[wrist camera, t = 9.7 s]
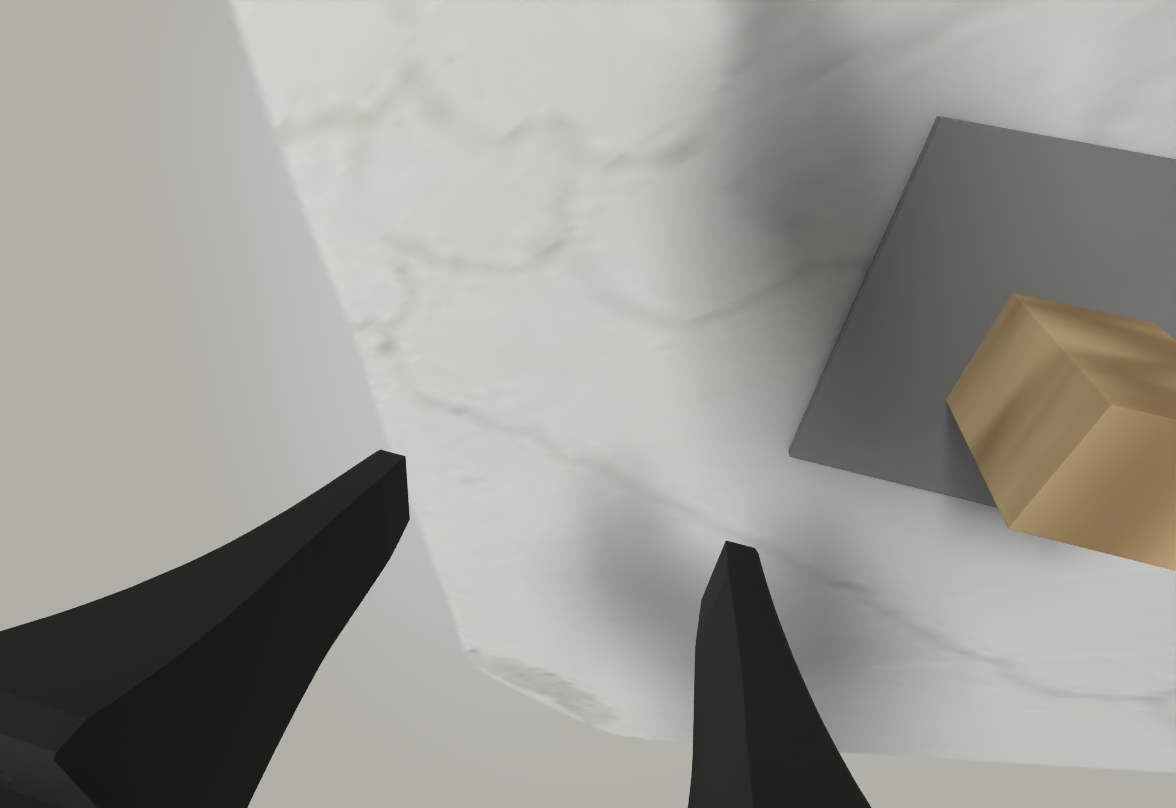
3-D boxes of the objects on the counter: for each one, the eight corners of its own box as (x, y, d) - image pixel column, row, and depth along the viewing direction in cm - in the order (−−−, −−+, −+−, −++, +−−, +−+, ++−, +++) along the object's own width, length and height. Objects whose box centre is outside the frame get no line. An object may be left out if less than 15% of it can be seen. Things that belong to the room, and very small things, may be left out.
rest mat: (1432, 206, 15) (1447, 211, 14) (1113, 529, 22) (1119, 537, 21) (937, 116, 16) (941, 118, 16) (788, 449, 23) (789, 456, 23)
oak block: (1154, 323, 17) (1311, 450, 12) (1069, 428, 20) (1173, 570, 15) (1012, 292, 18) (1111, 404, 13) (945, 399, 20) (1007, 528, 15)
